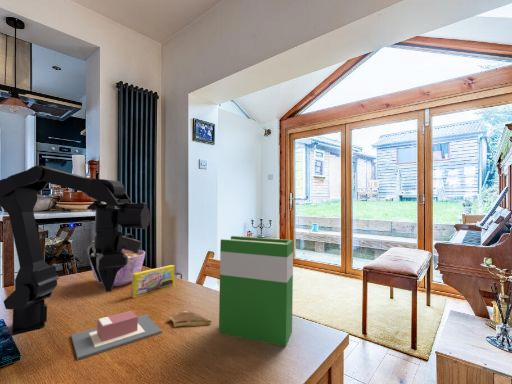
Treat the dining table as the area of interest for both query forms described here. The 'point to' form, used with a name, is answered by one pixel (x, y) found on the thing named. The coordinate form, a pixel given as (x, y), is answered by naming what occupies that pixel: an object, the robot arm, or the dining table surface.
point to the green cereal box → (256, 289)
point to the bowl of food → (127, 267)
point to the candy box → (152, 280)
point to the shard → (188, 319)
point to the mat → (92, 344)
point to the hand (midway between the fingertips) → (104, 286)
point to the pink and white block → (116, 325)
